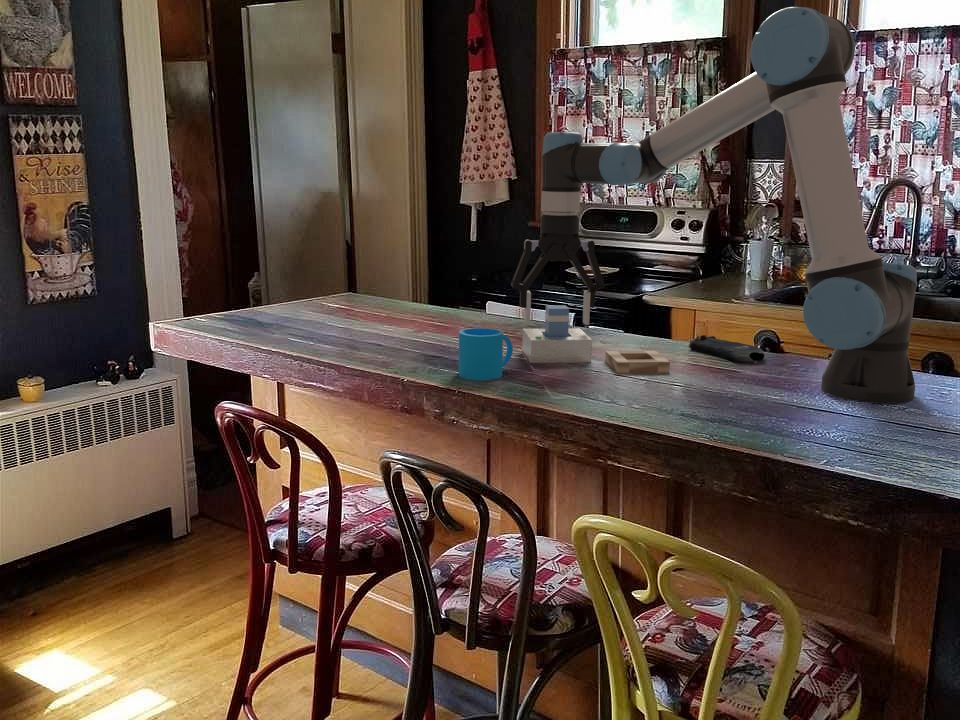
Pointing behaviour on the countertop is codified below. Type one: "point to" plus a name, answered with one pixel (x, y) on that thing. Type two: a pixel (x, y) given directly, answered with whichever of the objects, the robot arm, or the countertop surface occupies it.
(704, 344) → the electronic device
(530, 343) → the port block
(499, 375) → the mug
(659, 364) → the tan flat square frame
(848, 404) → the countertop surface
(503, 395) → the countertop surface
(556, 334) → the plug
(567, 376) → the countertop surface
